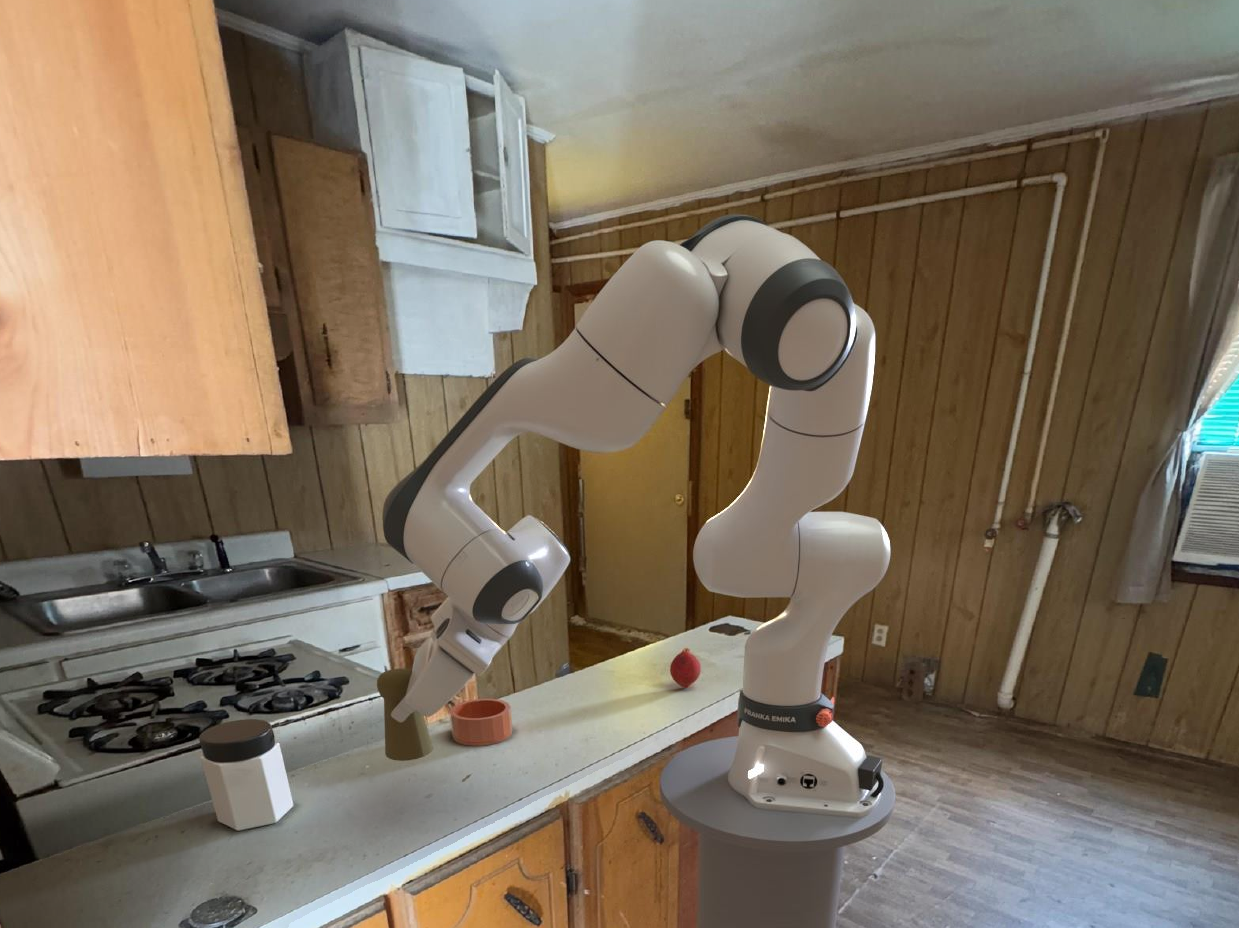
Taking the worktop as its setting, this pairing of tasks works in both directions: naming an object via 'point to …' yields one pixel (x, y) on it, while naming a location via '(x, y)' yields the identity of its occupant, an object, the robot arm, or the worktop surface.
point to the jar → (245, 773)
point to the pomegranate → (685, 668)
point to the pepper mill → (411, 733)
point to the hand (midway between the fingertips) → (397, 709)
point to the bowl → (481, 722)
